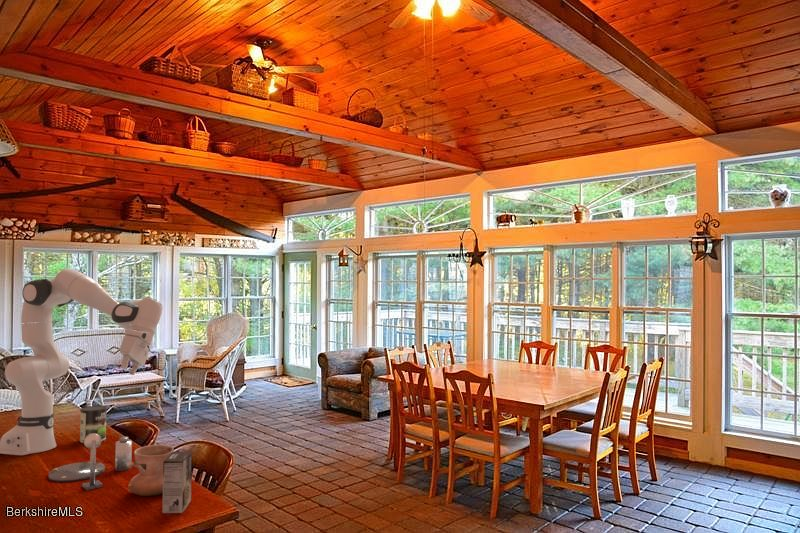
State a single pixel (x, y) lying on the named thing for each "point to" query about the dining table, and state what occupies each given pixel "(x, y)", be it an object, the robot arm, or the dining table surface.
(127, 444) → the capped metal canister
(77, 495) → the dining table surface
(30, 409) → the robot arm
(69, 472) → the disc
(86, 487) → the metal joystick
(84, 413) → the coffee can
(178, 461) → the coffee box
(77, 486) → the dining table surface
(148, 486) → the ceramic jug
